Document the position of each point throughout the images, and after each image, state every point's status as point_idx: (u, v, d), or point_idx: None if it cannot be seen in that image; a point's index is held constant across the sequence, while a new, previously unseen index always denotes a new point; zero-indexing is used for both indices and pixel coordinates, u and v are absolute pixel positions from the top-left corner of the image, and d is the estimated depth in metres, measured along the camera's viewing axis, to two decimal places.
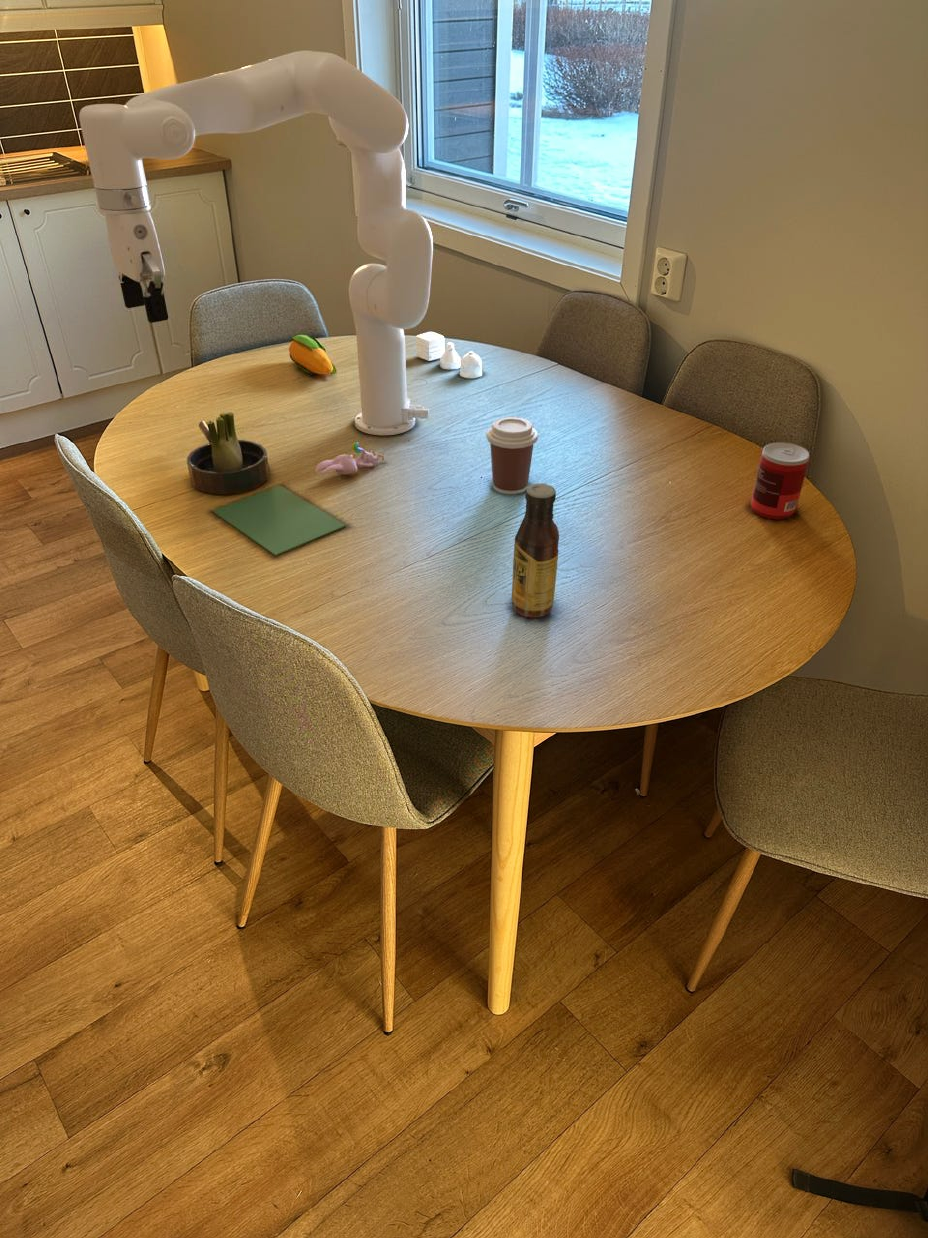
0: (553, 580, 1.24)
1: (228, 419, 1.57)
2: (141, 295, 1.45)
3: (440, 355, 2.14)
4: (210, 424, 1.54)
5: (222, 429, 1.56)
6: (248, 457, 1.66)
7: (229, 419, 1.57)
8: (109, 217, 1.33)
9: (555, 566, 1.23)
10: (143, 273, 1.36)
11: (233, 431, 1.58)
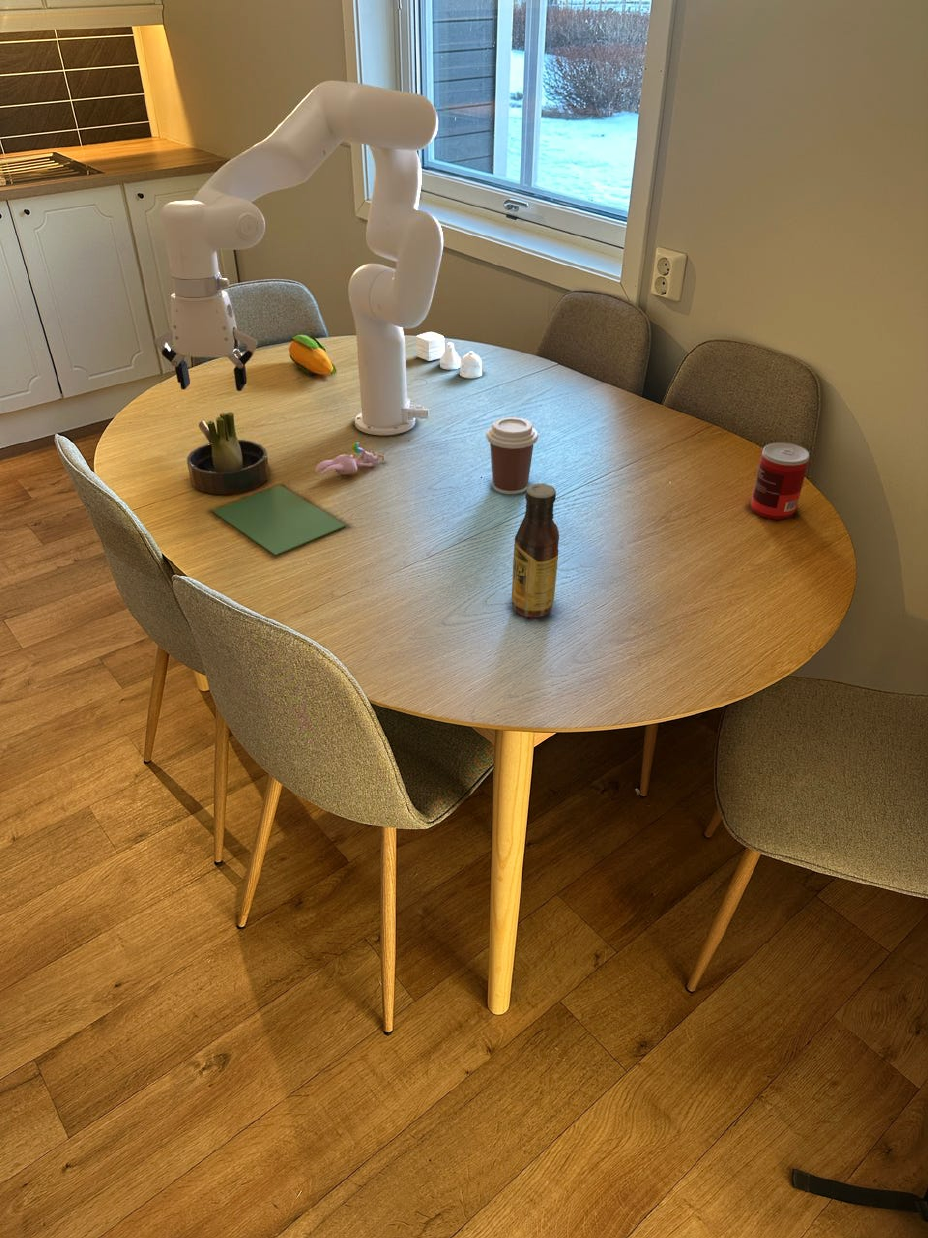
0: (553, 580, 1.24)
1: (228, 419, 1.57)
2: (188, 374, 1.52)
3: (440, 355, 2.14)
4: (210, 424, 1.54)
5: (222, 429, 1.56)
6: (248, 457, 1.66)
7: (229, 419, 1.57)
8: (192, 305, 1.42)
9: (555, 566, 1.23)
10: None
11: (233, 431, 1.58)
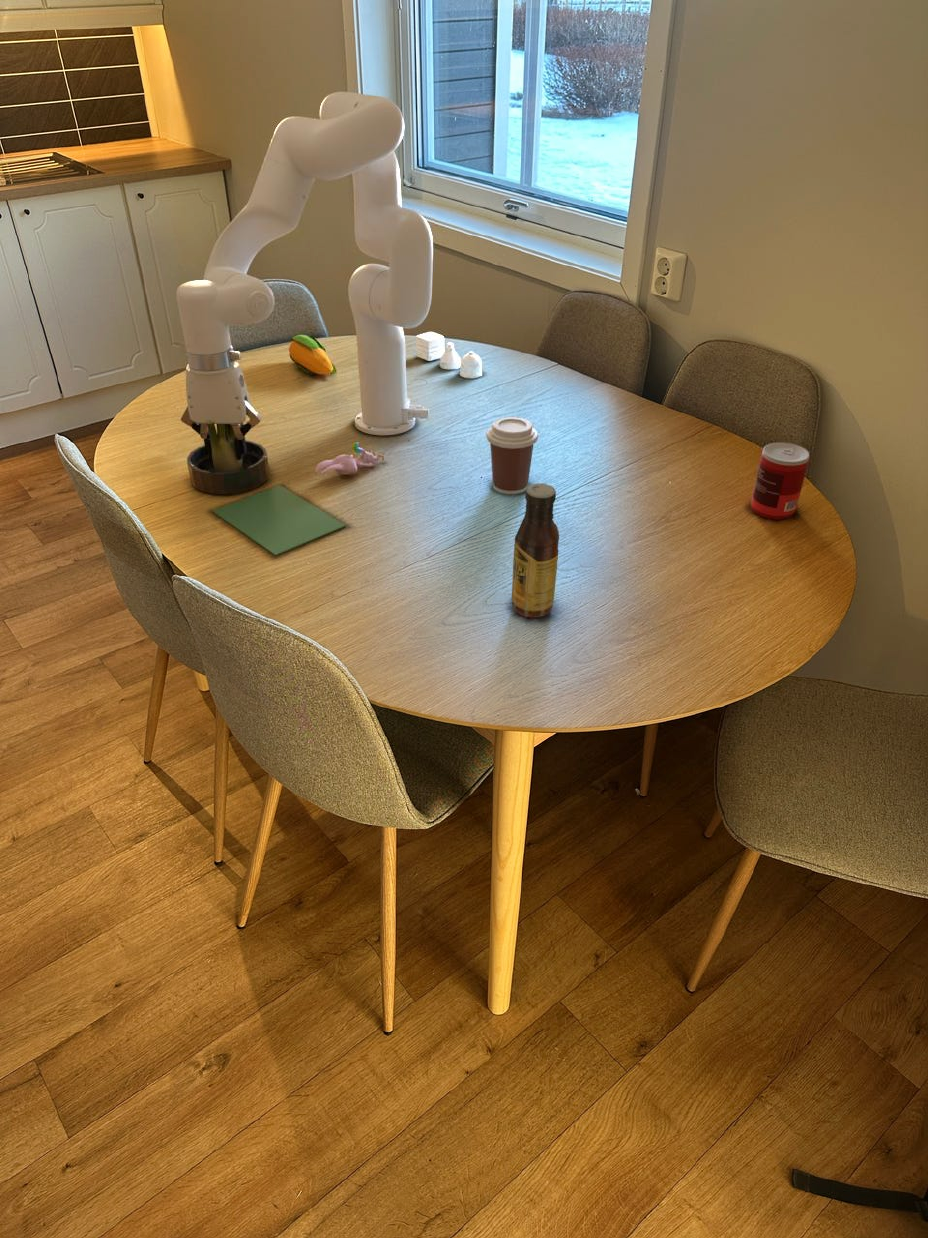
0: (553, 580, 1.24)
1: None
2: None
3: (440, 355, 2.14)
4: (210, 424, 1.54)
5: (222, 429, 1.56)
6: (248, 457, 1.66)
7: None
8: (206, 377, 1.49)
9: (555, 566, 1.23)
10: None
11: (233, 431, 1.58)
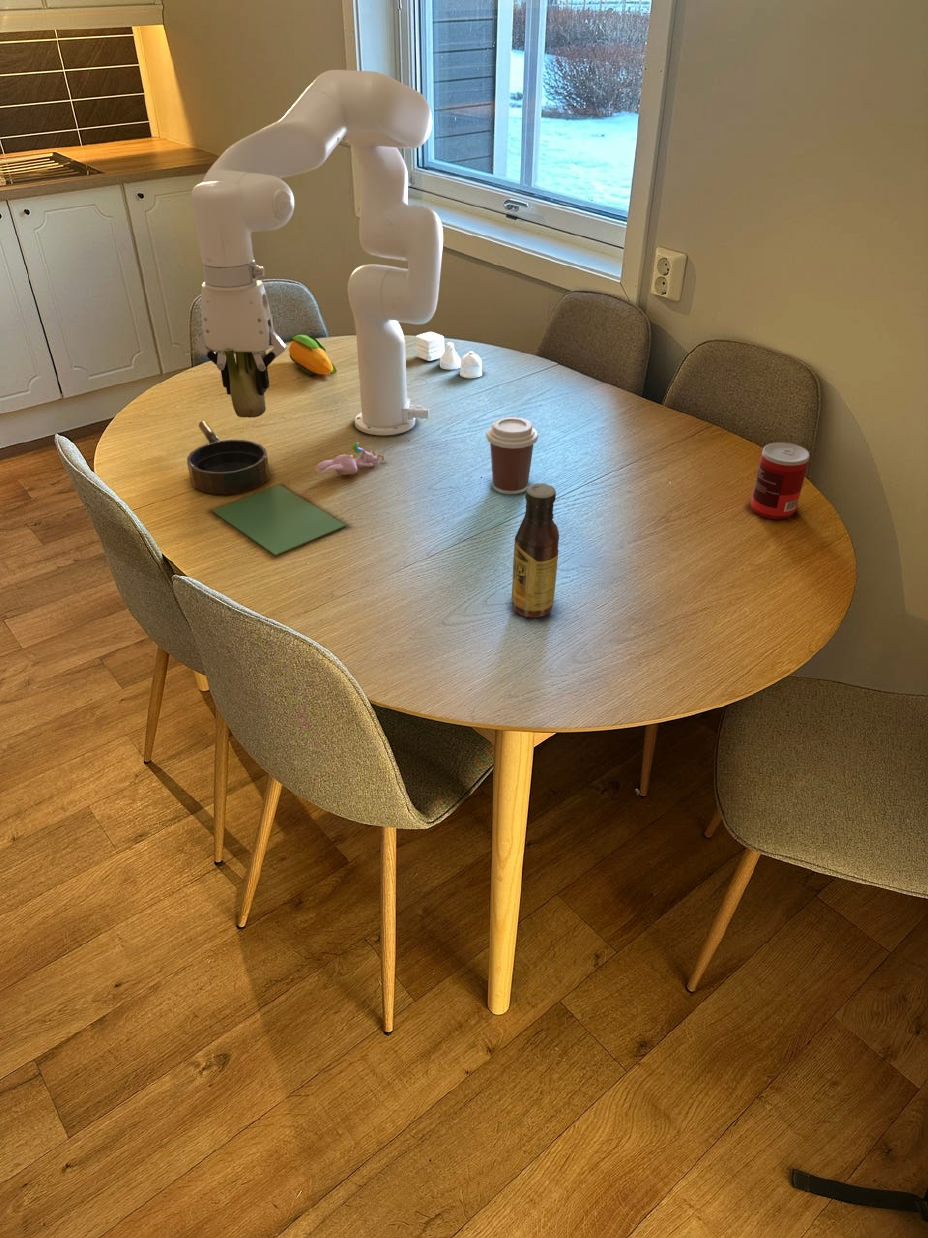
0: (553, 580, 1.24)
1: None
2: None
3: (440, 355, 2.14)
4: (228, 352, 1.35)
5: (242, 358, 1.37)
6: (248, 457, 1.66)
7: None
8: (225, 295, 1.30)
9: (555, 566, 1.23)
10: None
11: (254, 362, 1.39)
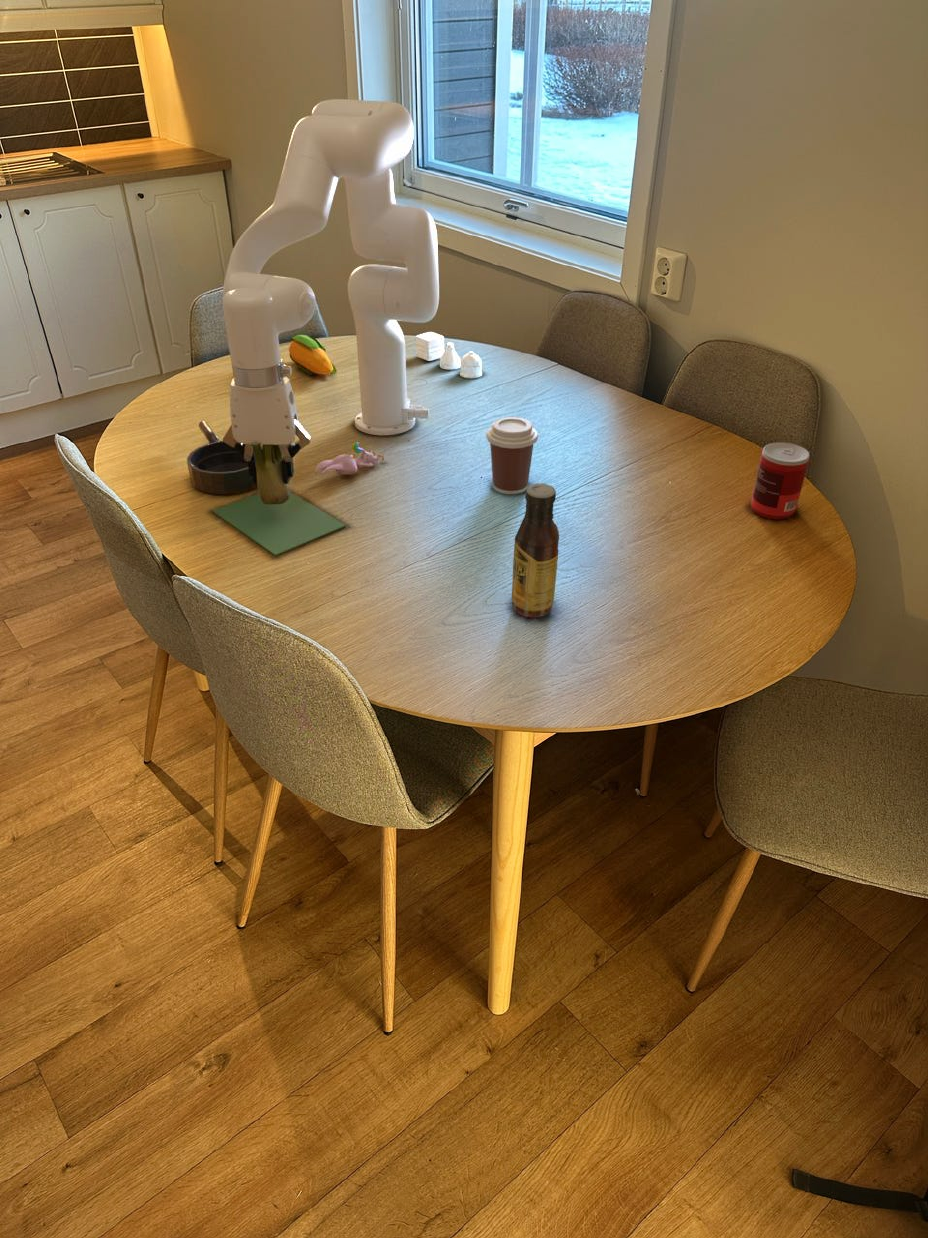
0: (553, 580, 1.24)
1: None
2: None
3: (440, 355, 2.14)
4: (256, 445, 1.39)
5: (268, 450, 1.42)
6: None
7: None
8: (253, 394, 1.35)
9: (555, 566, 1.23)
10: None
11: (279, 452, 1.44)
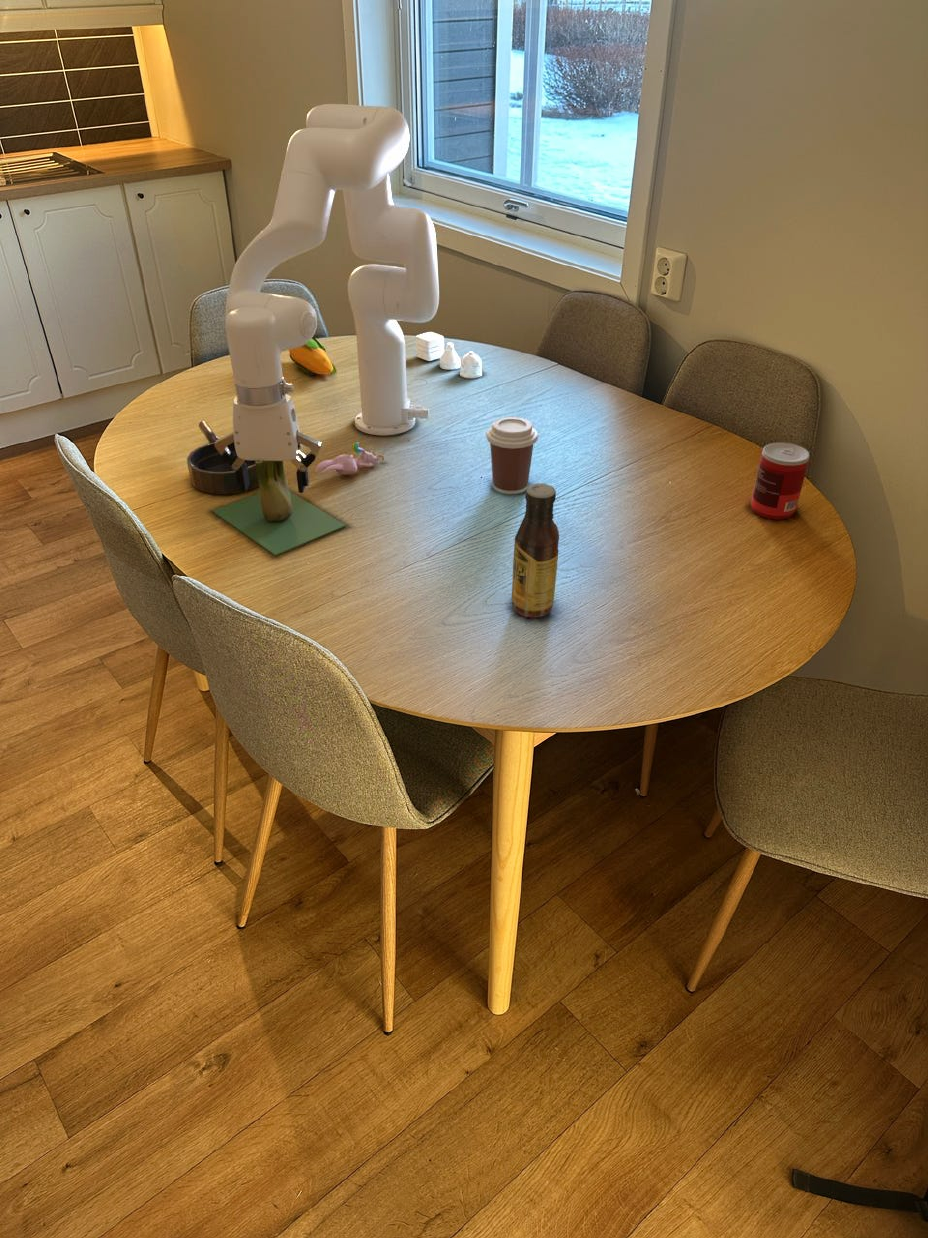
0: (553, 580, 1.24)
1: None
2: (248, 476, 1.47)
3: (440, 355, 2.14)
4: (258, 464, 1.41)
5: (271, 468, 1.43)
6: None
7: None
8: (256, 411, 1.36)
9: (555, 566, 1.23)
10: None
11: (282, 470, 1.46)
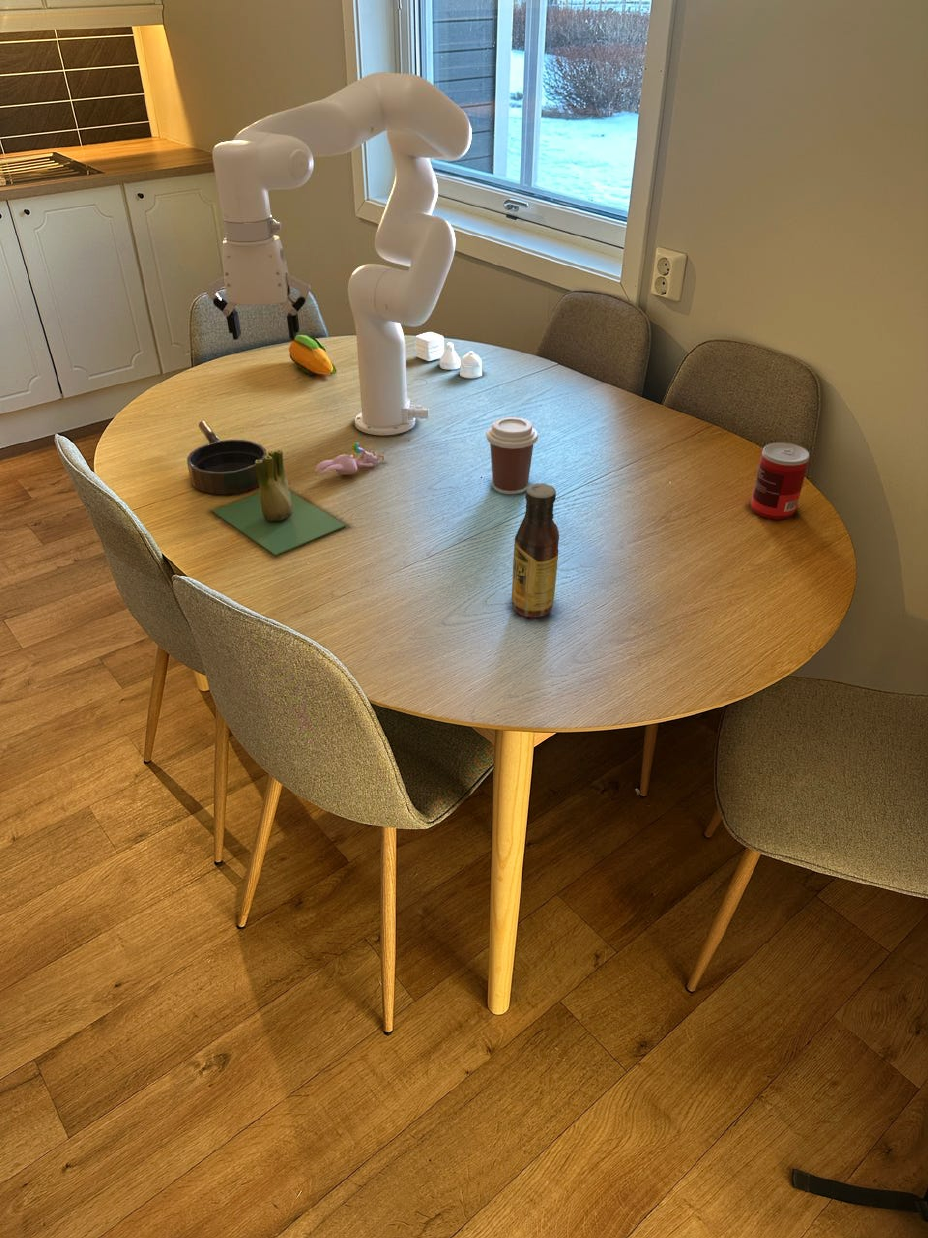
0: (553, 580, 1.24)
1: (277, 457, 1.45)
2: (239, 324, 1.49)
3: (439, 355, 2.14)
4: (258, 464, 1.41)
5: (271, 468, 1.43)
6: (248, 457, 1.66)
7: (278, 457, 1.45)
8: (245, 250, 1.38)
9: (555, 566, 1.23)
10: None
11: (282, 470, 1.46)
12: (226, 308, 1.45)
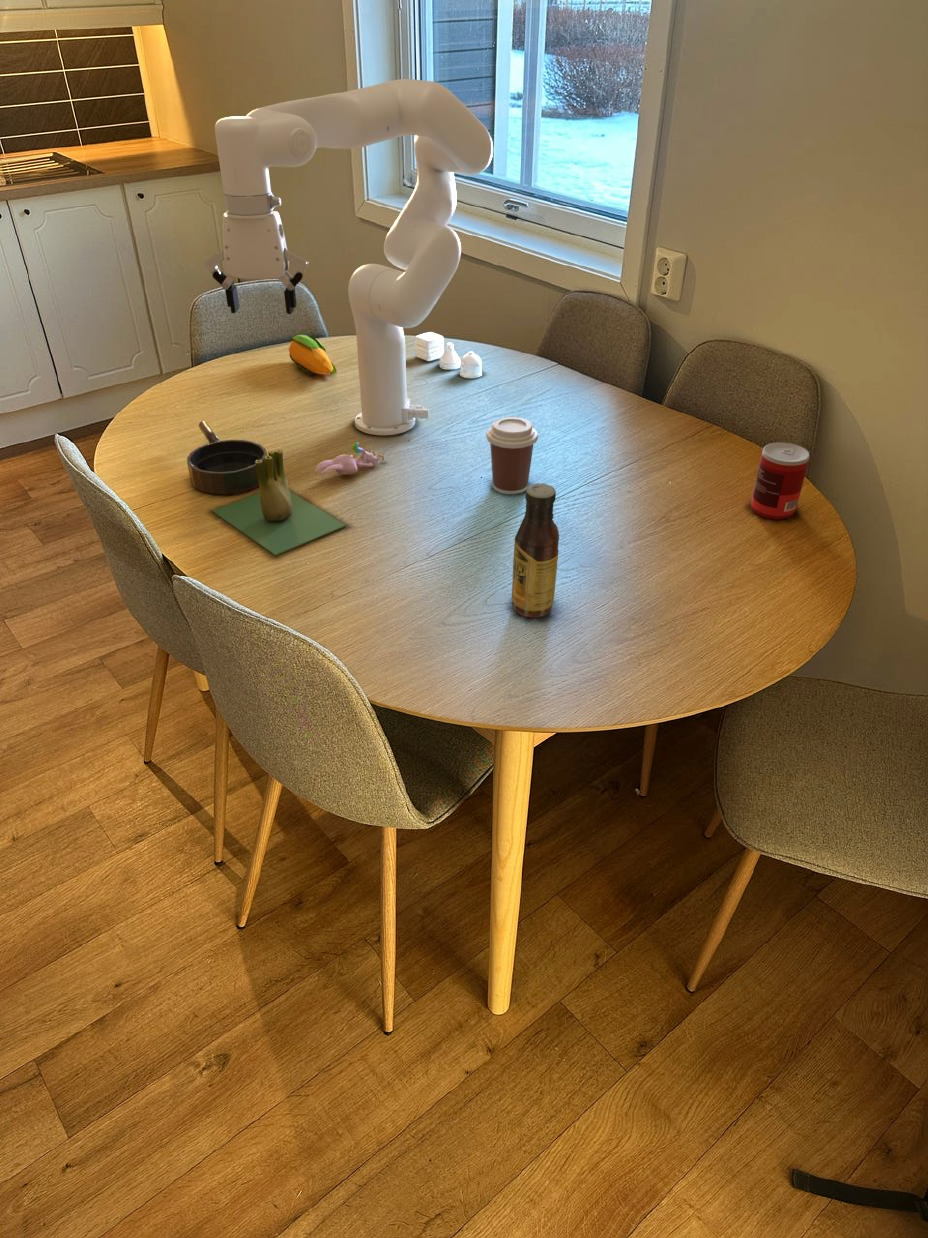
0: (553, 580, 1.24)
1: (277, 457, 1.45)
2: None
3: (439, 355, 2.14)
4: (258, 464, 1.41)
5: (271, 468, 1.43)
6: (248, 457, 1.66)
7: (278, 457, 1.45)
8: (245, 223, 1.42)
9: (555, 566, 1.23)
10: None
11: (282, 470, 1.46)
12: (225, 281, 1.48)
